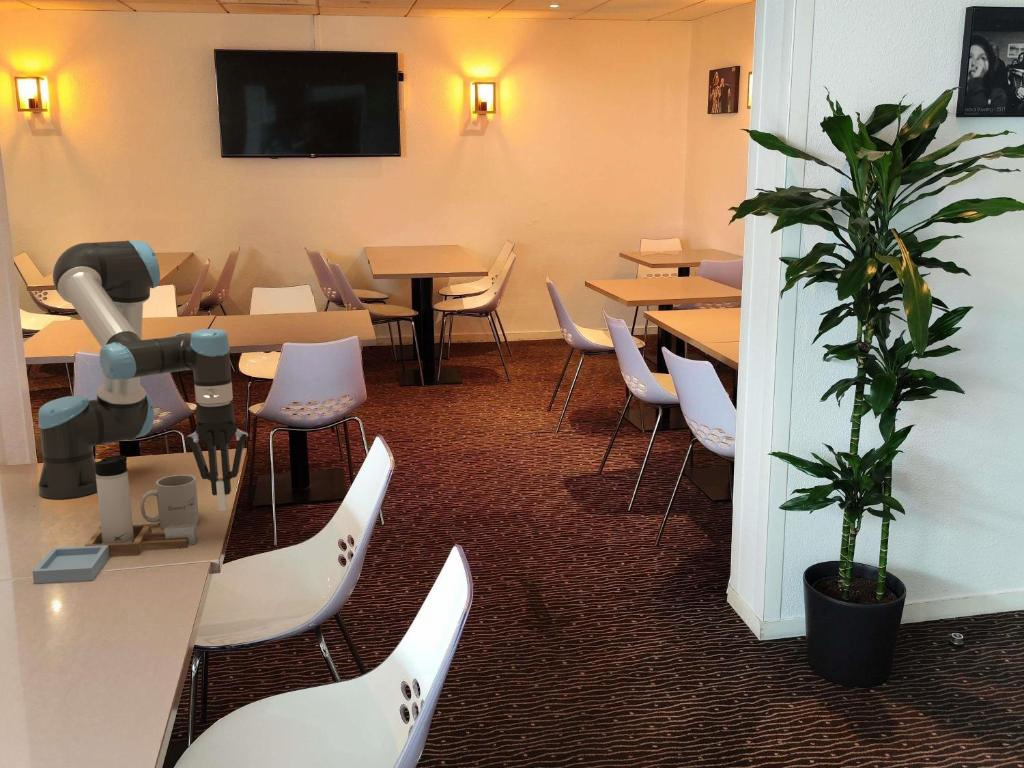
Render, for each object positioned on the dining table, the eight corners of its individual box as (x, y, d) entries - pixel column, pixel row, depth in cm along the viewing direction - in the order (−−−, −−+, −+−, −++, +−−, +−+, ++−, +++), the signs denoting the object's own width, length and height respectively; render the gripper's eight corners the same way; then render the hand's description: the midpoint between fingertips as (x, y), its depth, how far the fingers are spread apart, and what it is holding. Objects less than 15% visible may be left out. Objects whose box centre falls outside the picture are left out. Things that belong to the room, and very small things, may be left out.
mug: (198, 513, 225) (195, 473, 223) (199, 526, 217) (195, 484, 215) (143, 519, 221) (139, 478, 219) (141, 532, 213) (137, 490, 211)
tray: (54, 559, 198) (52, 548, 198) (109, 556, 200) (108, 545, 199) (33, 583, 187) (32, 571, 186) (92, 580, 188) (91, 568, 188)
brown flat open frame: (101, 537, 211) (100, 526, 210) (194, 532, 213) (193, 521, 213) (85, 557, 199) (83, 546, 199) (183, 552, 202) (182, 541, 201)
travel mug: (124, 552, 202) (116, 462, 198) (96, 550, 203) (87, 460, 199) (141, 541, 208) (133, 453, 204) (114, 539, 209) (105, 452, 205)
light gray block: (169, 540, 208) (167, 523, 207) (197, 539, 209) (196, 522, 208) (166, 546, 205) (164, 528, 205) (194, 544, 206) (193, 527, 205)
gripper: (179, 408, 197) (188, 516, 202) (243, 405, 199) (251, 512, 204) (186, 400, 205) (195, 504, 209) (248, 397, 206) (255, 501, 211)
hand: (222, 508), depth 207 cm, fingers closed
